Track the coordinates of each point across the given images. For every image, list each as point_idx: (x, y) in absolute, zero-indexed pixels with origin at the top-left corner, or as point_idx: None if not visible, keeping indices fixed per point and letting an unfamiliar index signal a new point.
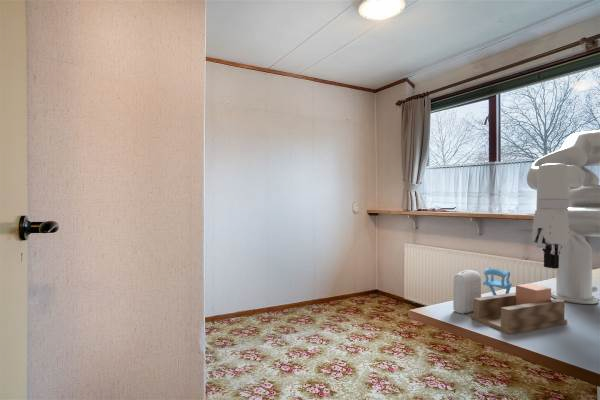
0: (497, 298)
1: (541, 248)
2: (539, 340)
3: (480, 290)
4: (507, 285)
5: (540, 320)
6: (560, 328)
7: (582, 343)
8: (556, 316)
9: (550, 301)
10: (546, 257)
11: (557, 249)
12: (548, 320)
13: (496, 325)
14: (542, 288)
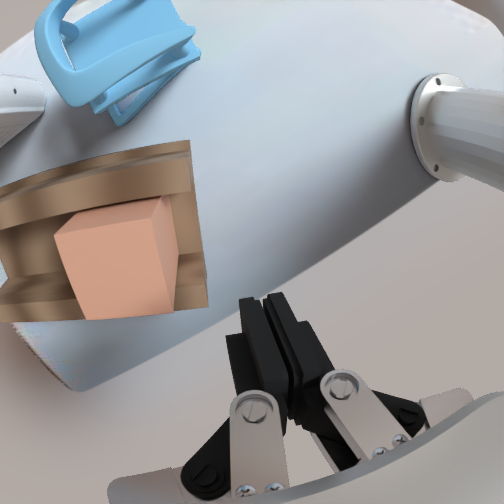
0: (4, 227)
1: (169, 469)
2: (58, 326)
3: (4, 119)
4: (131, 91)
5: None
6: None
7: (130, 353)
8: None
9: None
10: (235, 383)
11: (325, 453)
12: None
13: (4, 267)
14: (133, 305)
